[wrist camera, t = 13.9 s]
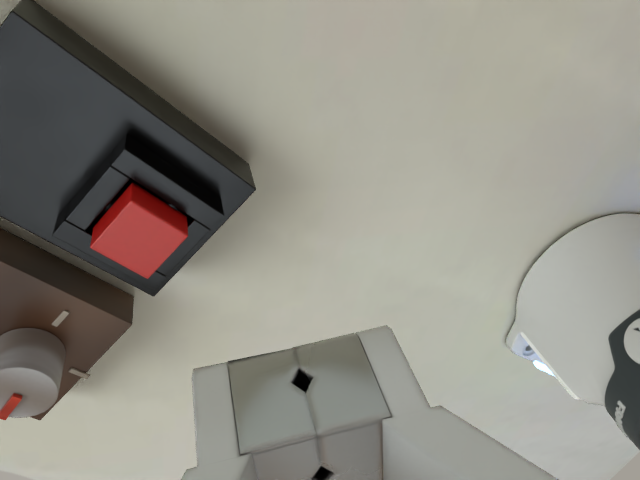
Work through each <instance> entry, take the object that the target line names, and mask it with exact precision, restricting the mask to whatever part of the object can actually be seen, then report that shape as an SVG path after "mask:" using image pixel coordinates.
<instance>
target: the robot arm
mask: <svg viewBox="0 0 640 480" xmlns="http://www.w3.org/2000/svg"><path fill="white" fill-rule="evenodd" d="M506 346H507V347H508V348H509V349H510V350H511V351H512V352H513V353H514V354H516V355H518V356H521V357H523V358H526V359H528V360H531V361H533V363H534V365H535V366H536V367H537V368H538V369H540V370H542V371H545V372H547V373H549V374H551V375H553V376H555V377H556V378H557V380H558V381H559V382H560V383H561V384H562V386H563V387H564V388H565V389H566V390H567V392H568V393H569V394H570V395H571V396H572V397H573V398H574V399H576V400H580V399H581V400H583V401H585V402H587V403H589V404H594V405H601V406H605V407H606V410H607V412H608V413H609V414H610V415H611V417H612V418H613V419H614V420H615V422H616V424H617V426H618V427H619V429H620V430H621V431H622V432H623V433H624V435H625V436H626V437H628V438H629V439H630V440H631V441H632V442H633V443H634V444H635V445H636V446H637V447H638V449H640V214H630V213H622V214H613V215H608V216H604V217H601V218H598V219H595V220H592V221H590V222H587V223H585V224H583V225H581V226H579V227H577V228H575V229H574V230H572V231H570V232H569V233H567V234H566V235H564V236H563V237H562V238H560V239H559V240H558V241H556V242H555V243H554V244H553V245H552V246H550V247H549V248H548V249H547V250H546V251H545V252H544V253H543V254H542V255H541V256H540V257H539V259H538V260H537V261H536V262H535V263H534V265H533V266H532V267H531V269H530V270H529V272H528V273H527V275H526V277H525V279H524V281H523V283H522V285H521V287H520V290H519V293H518V297H517V302H516V318H515V322H514V324H513V326H512V328H511V330H510V332H509V334H508V336H507V339H506ZM192 390H193V406H194V421H195V437H196V453H197V467H194V468H191V469H187V470H186V472H185V473H184V475H183V477H182V479H181V480H558V479H557V478H555V477H553V476H552V475H550V474H549V473H547V472H545V471H544V470H542V469H541V468H539V467H538V466H536V465H534V464H533V463H531V462H530V461H528V460H526V459H525V458H523V457H522V456H520V455H518V454H517V453H515V452H514V451H512V450H510V449H509V448H507V447H506V446H504V445H503V444H501V443H499V442H498V441H496V440H495V439H493V438H491V437H490V436H488V435H487V434H485V433H483V432H482V431H480V430H479V429H477V428H475V427H474V426H472V425H471V424H469V423H467V422H466V421H464V420H463V419H461V418H460V417H458V416H456V415H455V414H453V413H452V412H450V411H448V410H447V409H445V408H444V407H442V406H436V407H430V405H429V403H428V401H427V399H426V397H425V395H424V393H423V391H422V389H421V387H420V385H419V383H418V381H417V379H416V377H415V375H414V373H413V371H412V369H411V367H410V365H409V363H408V361H407V359H406V357H405V355H404V353H403V351H402V349H401V347H400V345H399V343H398V341H397V339H396V337H395V335H394V333H393V331H392V329H390V328H389V327H388V326H387V325H386V326H381V327H377V328H373V329H369V330H365V331H360V332H356V333H355V334H354V333H352V334H347V335H343V336H339V337H335V338H331V339H326V340H322V341H318V342H314V343H310V344H305V345H301V346H297V347H293V348H291V349H286V350H281V351H277V352H272V353H267V354H262V355H257V356H252V357H247V358H242V359H237V360H232V361H228V362H225V363H221V364H216V365H211V366H206V367H201V368H196V369H193V374H192Z"/></svg>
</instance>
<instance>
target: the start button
mask: <svg viewBox="0 0 640 480" xmlns="http://www.w3.org/2000/svg"><path fill="white" fill-rule="evenodd" d="M187 237H188V226H187V217H186V216H185V215H183V214H182V213H180V212H179V211H177V210H175V209H174V208H172V207H171V206H169V205H168V204H166V203H165V202H163V201H161V200H160V199H158V198H157V197H155V196H154V195H152V194H150V193H149V192H147V191H146V190H144V189H143V188H141V187H140V186H138V185H136V184H135V183H131V184H130V186H129V187H128V188H127V189H126V190H125V191H124V192H123V194H122V195H121V196H120V197H119V198H118V199H117V201H116V202H115V203H114V204H113V205H112V206H111V207H110V209H109V210H108V211H107V212H106V213H105V214H104V215H103V217H102V218H101V219H100V220H99V221H98V222H97V224H96V225H95V226H94V227H93V233H92V238H91V244H90V248H91V249H93V250H95V251H97V252H99V253H100V254H102V255H104V256H106V257H108V258H110V259H111V260H113V261H115V262H117V263H119V264H121V265H123V266H124V267H126V268H128V269H130V270H132V271H134V272H135V273H137V274H139V275H141V276H143V277H145V278H147V279H148V278H149V277H150V276H151V275H152V274H153V273H154V272H155V271H156V270H157V269H158V268H159V267H160V266H161V264H162V263H163V262H164V261H165V260H166V259H167V258H168V257H169V256H170V255H171V254H172V253H173V252H174V251H175V250H176V249H177V247H178V246H179V245H180V244H181V243H182V242H183V241H184V240H185V239H186V238H187Z"/></svg>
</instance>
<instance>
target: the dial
mask: <svg viewBox="0 0 640 480" xmlns="http://www.w3.org/2000/svg"><path fill="white" fill-rule="evenodd" d="M65 356H66V351H65V347H64V345H63V343H62V342H61V341H60V340H59V339H58V338H57V337H56V336H55V335H53V334H51V333H49V332H47V331H44V330H41V329H36V328H19V329H14V330H11V331H8V332H6V333H4V334H2V335H1V336H0V419H3V420H6V419H7V417H15V418H22V417H30V416H34V415H38V414H40V413H43V412H45V411H46V410H48V409H49V408H50V407H52V406H53V404H54V403H55V402H56V400H57V398H58V394H59V388H60V383H61V378H62V372H63V367H64V362H65Z"/></svg>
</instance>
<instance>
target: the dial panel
mask: <svg viewBox="0 0 640 480" xmlns="http://www.w3.org/2000/svg"><path fill="white" fill-rule="evenodd" d="M133 301H134V297H133V296H132V295H130V294H128V293H126V292H124V291H122V290H120V289H118V288H116V287H114V286H112V285H110V284H108V283H106V282H104V281H102V280H100V279H99V278H97V277H95V276H93V275H91V274H89V273H87V272H85V271H83V270H81V269H79V268H77V267H75V266H73V265H71V264H69V263H67V262H65V261H64V260H62V259H60V258H58V257H56V256H54V255H52V254H50V253H48V252H46V251H44V250H42V249H40V248H38V247H36V246H34V245H32V244H30V243H28V242H27V241H25V240H23V239H21V238H19V237H17V236H15V235H13V234H11V233H9V232H7V231H5V230H3V229H1V228H0V336H1V335H2V334H4V333H6V332H8V331H11V330H14V329H19V328H36V329H41V330H44V331H47V332H49V333H51V334H53V335H55V336H56V337H57V338H58V339H59V340H60V341H61V342H62V343H63V345H64V347H65V351H66V356H65V362H64V367H63V372H62V378H61V383H60V388H59V394H58V398H57V400H56V402H55V403H54V404H53V406H54V405H55V404H56V403H57V402H58V401H59V400H60V399H61V398H62V397H63V396H64V395H65V394H66V393H67V392H68V391H69V390H70V389H71V388H72V387H73V386H74V385H75V384H76V383H77V381H78V380H79V379H80V378H81V377H83V378H85V379H87V378H88V377H89V376H90V374H87V373H86V372H87V371H88V370H89V369H90V368H91V367H92V366H93V365H94V364H95V363H96V362H97V361H98V360H99V359H100V357H101V356H102V355H103V354H104V353H105V352H106V351H107V350H108V349H109V348H110V347H111V346H112V345H113V344H114V343H115V342H116V341H117V340H118V339H119V338H120V337H121V336H122V335H123V334H124V332H125V331H126V330H127V329H128V328H129V327H130V326H131V325H132V318H133ZM53 406H52V407H50V408H49V409H48V410H46V411H45V412H43V413H40V414H38V415H34V416H30V417H32V418H35V419H38V420H41V419H42V418H43V417H44V416H45V415H46V414H47V413H48V412H49V411H50V410H51V409H52V408H53Z"/></svg>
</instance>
